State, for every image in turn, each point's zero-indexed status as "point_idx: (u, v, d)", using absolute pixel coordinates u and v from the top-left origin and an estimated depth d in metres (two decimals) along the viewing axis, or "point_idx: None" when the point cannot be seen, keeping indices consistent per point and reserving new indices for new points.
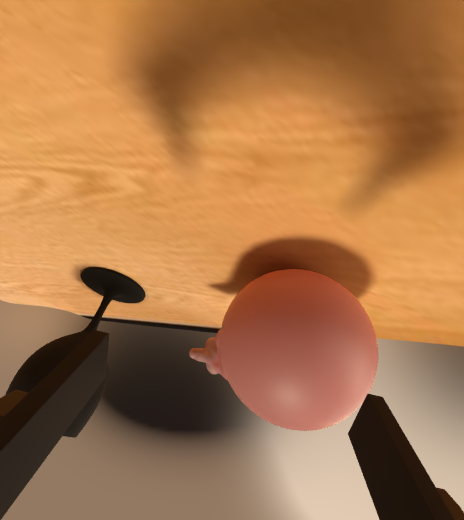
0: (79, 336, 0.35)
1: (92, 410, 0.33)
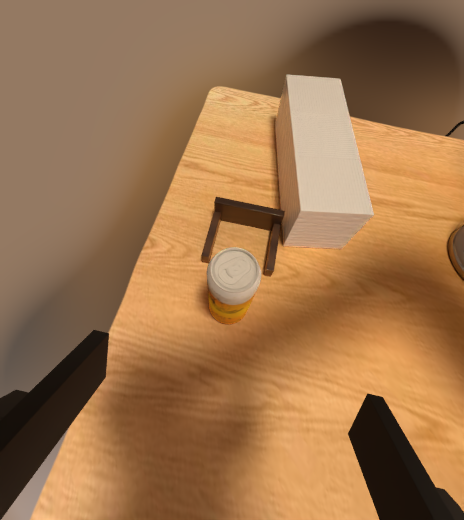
0: None
1: None
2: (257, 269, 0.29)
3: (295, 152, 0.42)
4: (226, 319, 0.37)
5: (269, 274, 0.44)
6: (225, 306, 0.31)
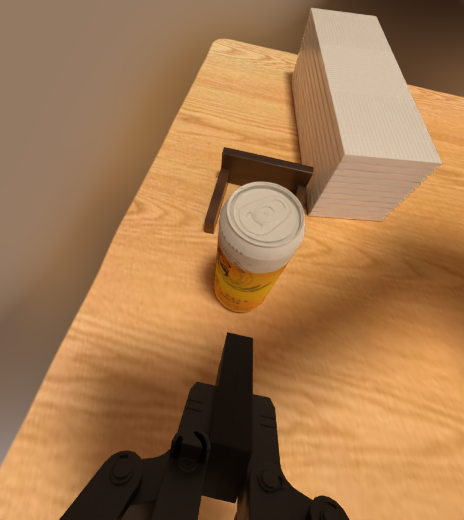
0: None
1: None
2: (300, 214, 0.18)
3: (330, 87, 0.32)
4: (240, 303, 0.26)
5: None
6: (245, 277, 0.20)
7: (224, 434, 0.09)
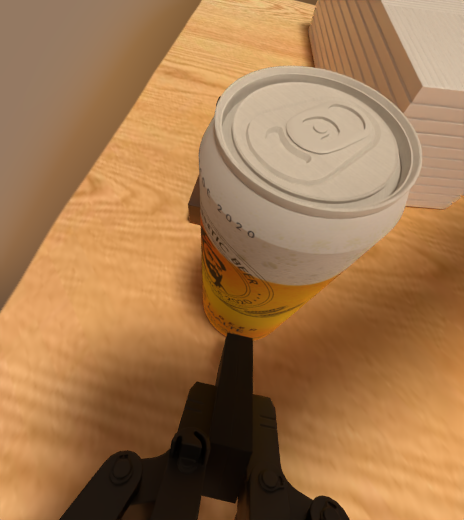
0: None
1: None
2: (403, 139, 0.07)
3: (382, 0, 0.21)
4: (244, 331, 0.15)
5: None
6: (257, 292, 0.09)
7: (224, 434, 0.09)
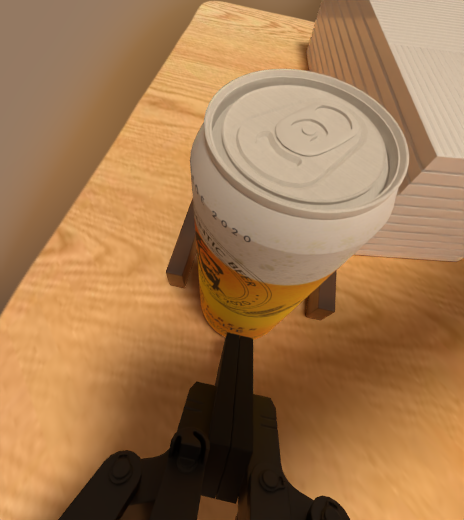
0: None
1: None
2: (389, 137, 0.07)
3: (387, 38, 0.18)
4: (243, 331, 0.15)
5: (320, 317, 0.19)
6: (255, 293, 0.09)
7: (223, 434, 0.09)
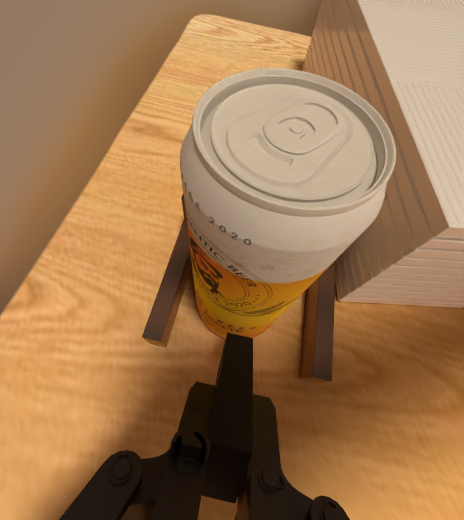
0: None
1: None
2: (374, 129, 0.07)
3: (389, 74, 0.16)
4: (244, 331, 0.15)
5: (315, 381, 0.17)
6: (256, 293, 0.09)
7: (224, 434, 0.09)
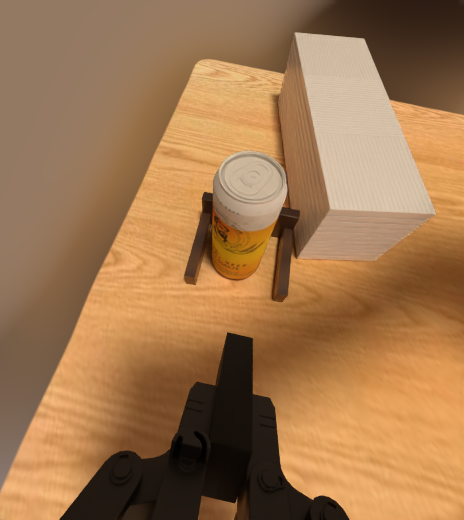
0: None
1: None
2: (281, 173, 0.21)
3: (315, 127, 0.30)
4: (240, 268, 0.29)
5: (280, 299, 0.31)
6: (243, 238, 0.23)
7: (224, 434, 0.09)
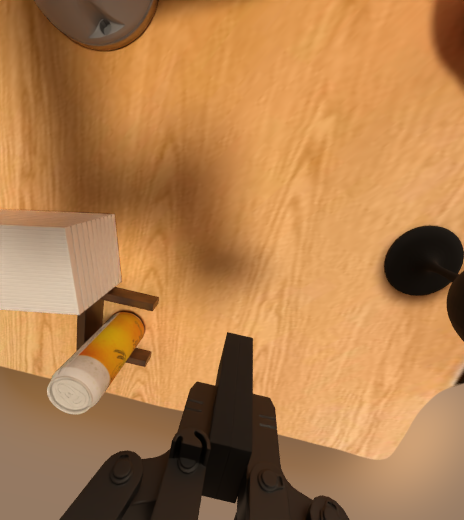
0: None
1: None
2: (62, 377, 0.30)
3: None
4: (136, 340, 0.40)
5: (157, 301, 0.41)
6: (114, 372, 0.34)
7: (224, 434, 0.09)
